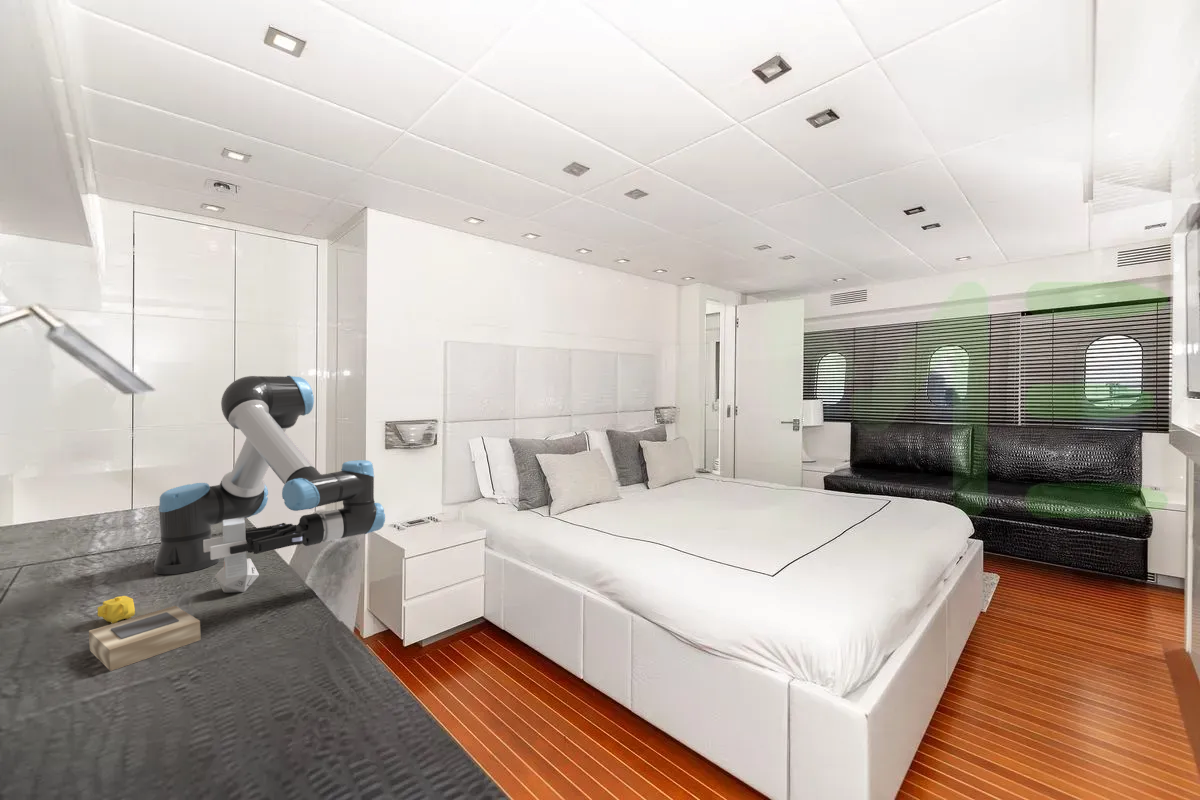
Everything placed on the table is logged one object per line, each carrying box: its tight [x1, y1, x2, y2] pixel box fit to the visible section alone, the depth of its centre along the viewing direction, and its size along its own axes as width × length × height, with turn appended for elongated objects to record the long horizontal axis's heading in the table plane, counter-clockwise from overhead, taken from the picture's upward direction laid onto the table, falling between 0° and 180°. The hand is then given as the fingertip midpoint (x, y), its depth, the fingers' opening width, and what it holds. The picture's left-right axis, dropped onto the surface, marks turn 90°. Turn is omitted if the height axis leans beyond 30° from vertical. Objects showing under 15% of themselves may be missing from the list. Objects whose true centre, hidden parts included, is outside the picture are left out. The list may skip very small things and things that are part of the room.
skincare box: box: [221, 517, 248, 579], centre depth 119 cm, size 6×4×12 cm
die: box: [214, 558, 260, 593], centre depth 135 cm, size 8×9×10 cm
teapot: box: [96, 595, 136, 624], centre depth 119 cm, size 8×6×5 cm
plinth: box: [88, 605, 202, 672], centre depth 107 cm, size 14×14×4 cm
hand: (207, 549), depth 115 cm, fingers closed on skincare box, 6 cm apart
